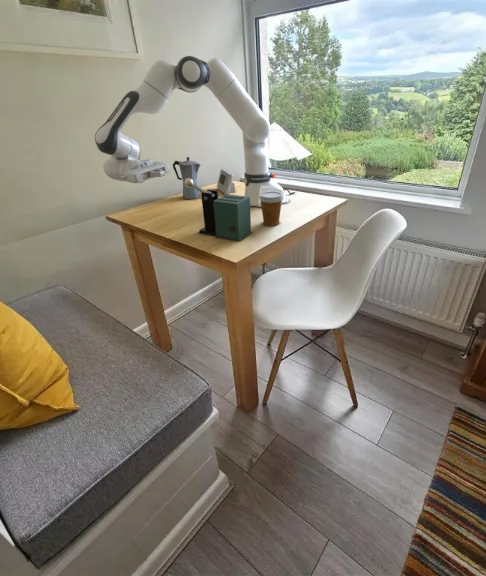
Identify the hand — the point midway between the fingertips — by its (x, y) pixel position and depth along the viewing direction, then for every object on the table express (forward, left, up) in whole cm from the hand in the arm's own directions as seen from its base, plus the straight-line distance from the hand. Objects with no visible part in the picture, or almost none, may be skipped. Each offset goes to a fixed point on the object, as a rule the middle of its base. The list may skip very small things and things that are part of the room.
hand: (163, 173), depth 127 cm
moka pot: (-14, -36, -21) cm, 44 cm away
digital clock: (-33, -40, -21) cm, 56 cm away
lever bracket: (-15, +15, -20) cm, 29 cm away
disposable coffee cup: (-40, +16, -21) cm, 47 cm away
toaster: (-22, +22, -20) cm, 37 cm away
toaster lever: (-11, +11, -6) cm, 17 cm away
